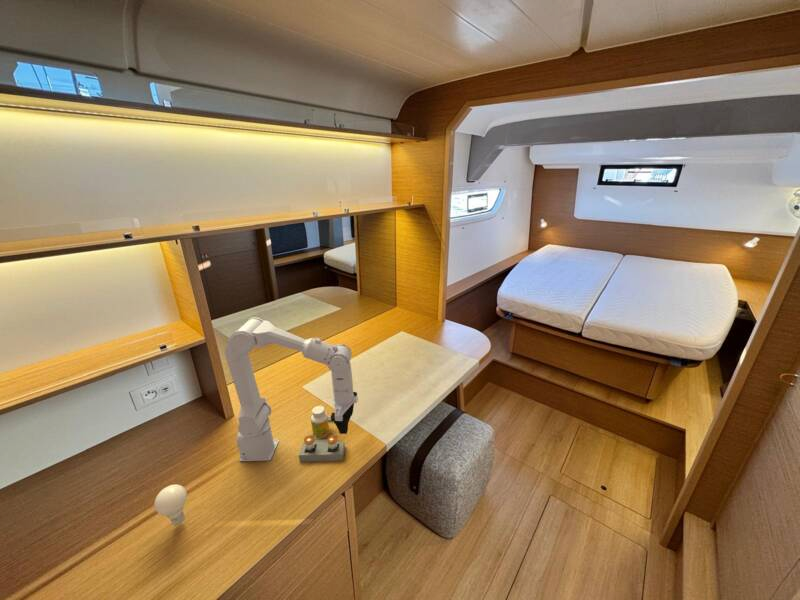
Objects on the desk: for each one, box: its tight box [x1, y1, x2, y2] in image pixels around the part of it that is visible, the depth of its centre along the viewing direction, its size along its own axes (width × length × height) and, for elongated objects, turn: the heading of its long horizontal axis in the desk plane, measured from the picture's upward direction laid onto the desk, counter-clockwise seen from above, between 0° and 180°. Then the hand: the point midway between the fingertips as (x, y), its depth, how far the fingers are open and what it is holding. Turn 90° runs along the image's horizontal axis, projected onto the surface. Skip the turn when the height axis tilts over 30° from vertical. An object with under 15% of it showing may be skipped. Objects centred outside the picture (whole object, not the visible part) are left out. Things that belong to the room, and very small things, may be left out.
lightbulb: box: [153, 483, 188, 527], centre depth 77 cm, size 6×6×11 cm
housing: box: [298, 416, 346, 462], centre depth 103 cm, size 13×18×2 cm
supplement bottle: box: [310, 405, 330, 439], centre depth 104 cm, size 5×5×10 cm
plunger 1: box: [303, 434, 316, 453], centre depth 96 cm, size 3×3×4 cm
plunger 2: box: [326, 434, 338, 452], centre depth 96 cm, size 3×3×4 cm
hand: (346, 423), depth 96 cm, fingers open, 7 cm apart
